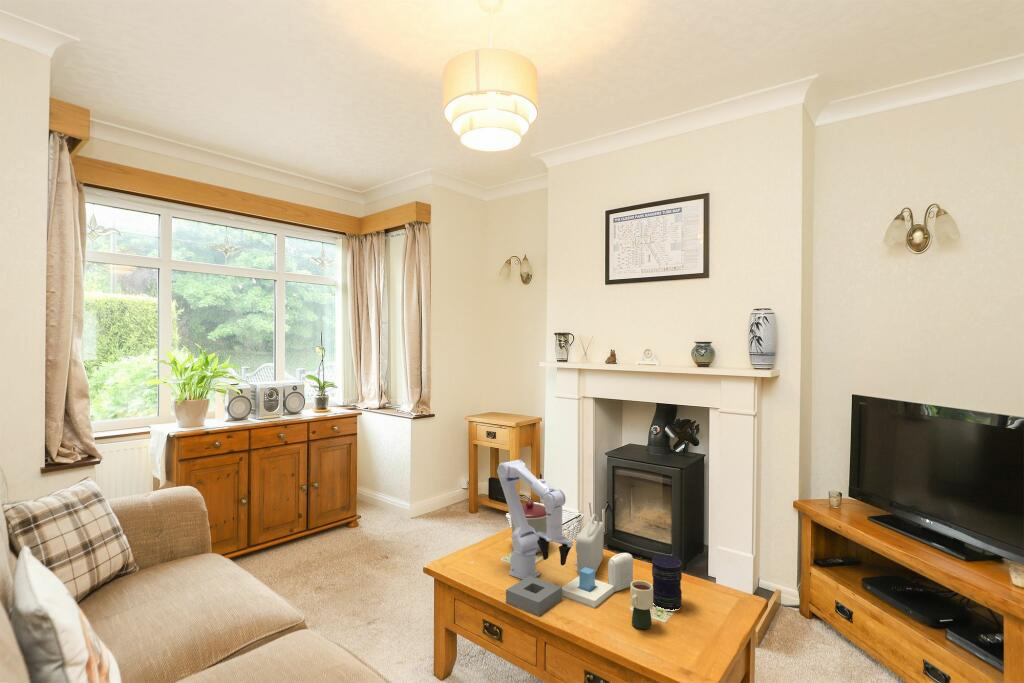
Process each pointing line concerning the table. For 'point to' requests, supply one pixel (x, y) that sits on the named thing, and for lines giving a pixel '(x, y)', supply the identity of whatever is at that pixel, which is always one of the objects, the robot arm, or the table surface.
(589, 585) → the plug
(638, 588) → the character mug
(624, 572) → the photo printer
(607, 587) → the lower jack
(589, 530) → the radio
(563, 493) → the robot arm
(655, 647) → the table surface
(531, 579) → the grey square socket block
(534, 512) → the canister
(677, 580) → the storage jar
